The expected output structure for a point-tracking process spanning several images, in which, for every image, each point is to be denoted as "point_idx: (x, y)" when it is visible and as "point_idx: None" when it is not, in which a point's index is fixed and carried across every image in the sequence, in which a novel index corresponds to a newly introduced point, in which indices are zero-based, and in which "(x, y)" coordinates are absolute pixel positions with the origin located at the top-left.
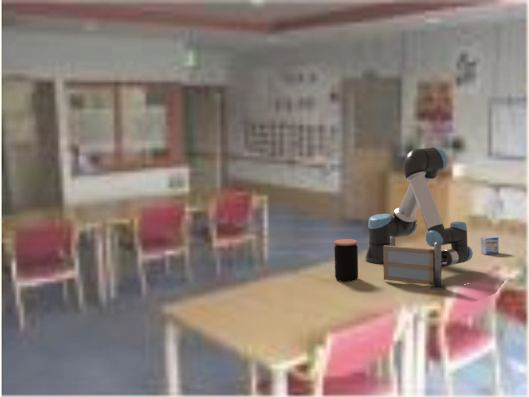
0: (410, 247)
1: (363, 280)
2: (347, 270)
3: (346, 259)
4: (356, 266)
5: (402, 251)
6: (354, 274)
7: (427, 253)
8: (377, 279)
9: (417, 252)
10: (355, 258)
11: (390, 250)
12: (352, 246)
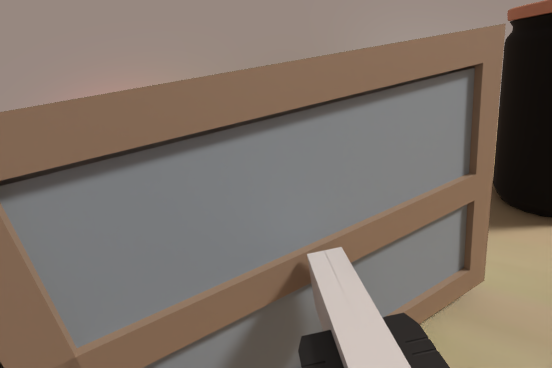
0: (289, 61)
1: (521, 230)
2: (496, 146)
3: (501, 94)
4: (532, 147)
5: (345, 96)
6: (510, 178)
7: (45, 170)
8: (548, 279)
9: (198, 133)
10: (528, 100)
11: (433, 75)
12: (528, 27)
